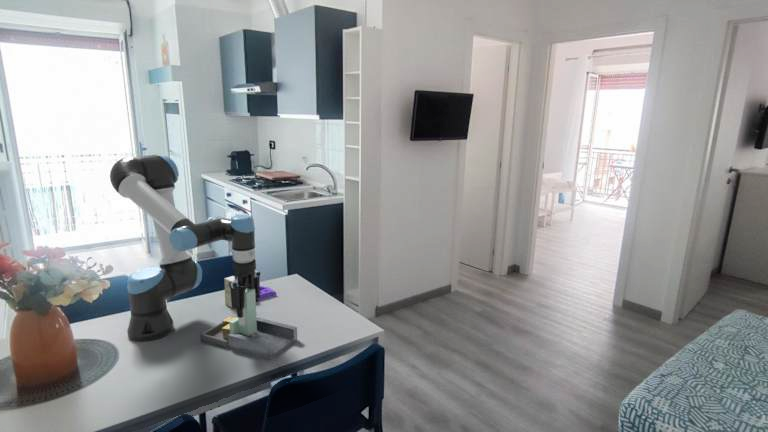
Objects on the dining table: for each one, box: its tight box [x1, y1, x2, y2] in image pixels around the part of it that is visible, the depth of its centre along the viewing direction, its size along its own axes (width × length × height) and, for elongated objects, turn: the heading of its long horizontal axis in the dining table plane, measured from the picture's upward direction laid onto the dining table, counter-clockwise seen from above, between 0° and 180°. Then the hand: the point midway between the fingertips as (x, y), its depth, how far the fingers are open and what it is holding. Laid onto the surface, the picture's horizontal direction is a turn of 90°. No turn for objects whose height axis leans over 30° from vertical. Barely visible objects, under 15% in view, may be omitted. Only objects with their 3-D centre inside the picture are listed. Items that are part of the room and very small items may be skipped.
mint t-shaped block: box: [229, 288, 257, 336], centre depth 154 cm, size 6×9×16 cm
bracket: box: [257, 285, 277, 301], centre depth 194 cm, size 12×7×7 cm, turn 131°
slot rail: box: [228, 316, 298, 361], centre depth 153 cm, size 18×15×5 cm
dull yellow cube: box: [222, 315, 237, 327], centre depth 162 cm, size 4×4×4 cm
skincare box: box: [223, 275, 235, 310], centre depth 183 cm, size 6×4×12 cm
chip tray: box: [200, 315, 244, 349], centre depth 160 cm, size 12×16×2 cm
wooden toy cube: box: [222, 324, 240, 339], centre depth 156 cm, size 4×4×4 cm
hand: (247, 321), depth 155 cm, fingers closed on mint t-shaped block, 4 cm apart
